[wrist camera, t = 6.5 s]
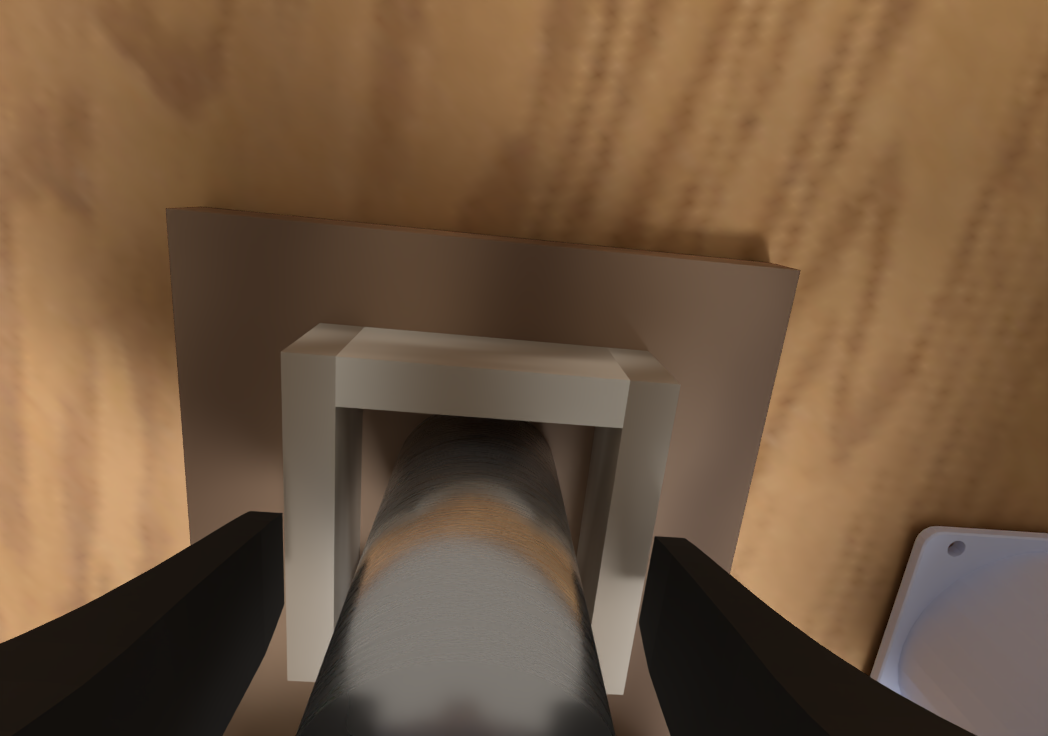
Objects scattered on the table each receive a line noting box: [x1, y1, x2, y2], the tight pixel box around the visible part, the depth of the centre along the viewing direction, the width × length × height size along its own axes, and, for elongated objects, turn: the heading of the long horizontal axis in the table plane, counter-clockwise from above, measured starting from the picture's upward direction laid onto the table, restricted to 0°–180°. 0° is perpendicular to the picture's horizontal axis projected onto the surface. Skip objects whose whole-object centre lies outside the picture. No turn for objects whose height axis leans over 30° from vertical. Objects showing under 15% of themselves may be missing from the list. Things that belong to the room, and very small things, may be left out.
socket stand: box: [166, 207, 800, 736], centre depth 12 cm, size 14×19×10 cm
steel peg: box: [296, 414, 616, 736], centre depth 11 cm, size 4×4×8 cm
